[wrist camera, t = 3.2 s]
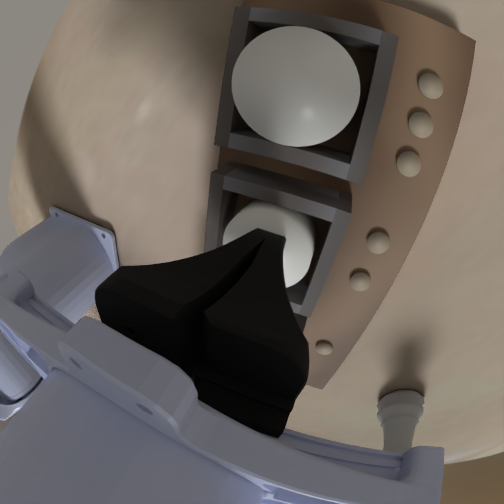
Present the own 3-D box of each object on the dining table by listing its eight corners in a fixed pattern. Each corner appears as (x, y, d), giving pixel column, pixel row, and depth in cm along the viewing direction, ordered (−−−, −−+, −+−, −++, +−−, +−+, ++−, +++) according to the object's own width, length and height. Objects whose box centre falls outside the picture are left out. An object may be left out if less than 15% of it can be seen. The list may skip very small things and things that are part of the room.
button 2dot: (234, 251, 15) (219, 272, 14) (244, 183, 13) (227, 197, 12) (305, 275, 15) (297, 300, 13) (327, 207, 12) (322, 226, 11)
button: (245, 124, 10) (224, 131, 9) (261, 31, 8) (241, 20, 7) (344, 150, 10) (343, 162, 8) (368, 52, 7) (371, 42, 6)
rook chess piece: (417, 382, 18) (413, 471, 12) (429, 403, 19) (425, 481, 13) (370, 395, 21) (356, 478, 14) (386, 415, 22) (376, 488, 15)
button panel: (211, 333, 23) (192, 364, 20) (259, -10, 9) (230, -35, 6) (325, 374, 21) (317, 410, 18) (464, 45, 7) (494, 34, 4)
